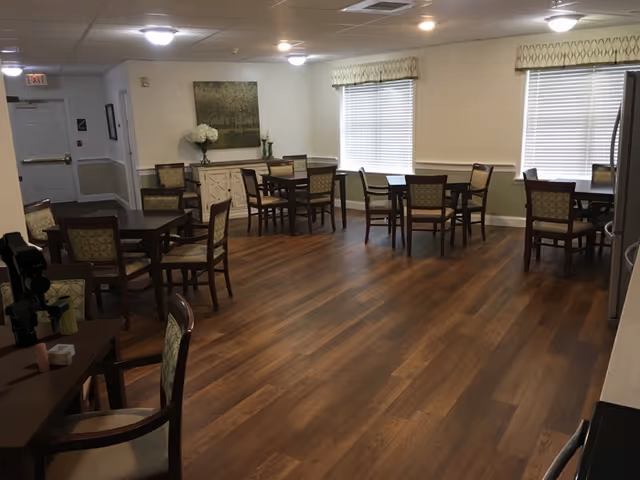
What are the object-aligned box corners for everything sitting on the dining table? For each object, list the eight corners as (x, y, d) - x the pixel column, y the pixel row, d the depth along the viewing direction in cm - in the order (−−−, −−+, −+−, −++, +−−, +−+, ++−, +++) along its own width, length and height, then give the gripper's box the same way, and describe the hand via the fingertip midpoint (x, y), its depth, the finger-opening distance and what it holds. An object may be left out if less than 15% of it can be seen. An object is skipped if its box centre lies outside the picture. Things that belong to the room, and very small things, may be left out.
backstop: (36, 363, 174) (34, 352, 173) (40, 360, 176) (38, 350, 175) (68, 365, 172) (66, 354, 171) (72, 362, 174) (70, 351, 173)
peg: (37, 372, 168) (32, 346, 166) (43, 367, 171) (39, 342, 169) (45, 372, 168) (41, 347, 166) (51, 368, 171) (47, 343, 168)
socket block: (48, 361, 176) (46, 351, 175) (59, 353, 181) (57, 344, 180) (64, 361, 175) (62, 352, 174) (75, 353, 180) (73, 344, 180)
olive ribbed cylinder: (81, 328, 202) (75, 294, 199) (72, 335, 196) (66, 300, 193) (66, 328, 203) (61, 294, 199) (57, 335, 197) (51, 300, 193)
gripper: (-13, 296, 157) (-3, 343, 160) (45, 295, 155) (53, 343, 158) (12, 284, 168) (20, 329, 171) (66, 284, 166) (73, 329, 169)
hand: (41, 333), depth 167 cm, fingers open, 9 cm apart
